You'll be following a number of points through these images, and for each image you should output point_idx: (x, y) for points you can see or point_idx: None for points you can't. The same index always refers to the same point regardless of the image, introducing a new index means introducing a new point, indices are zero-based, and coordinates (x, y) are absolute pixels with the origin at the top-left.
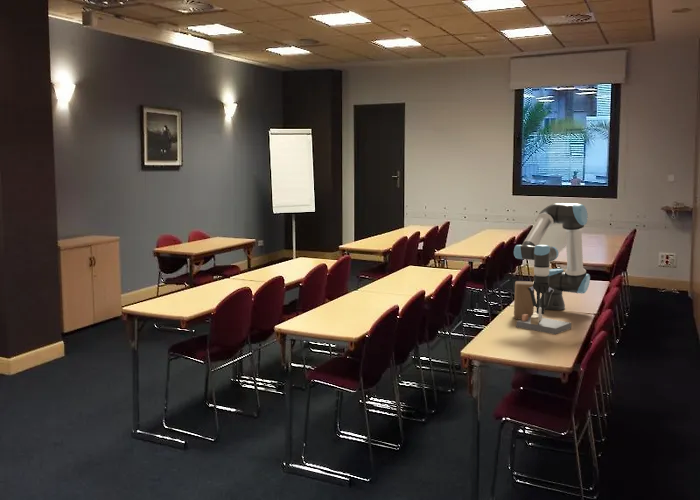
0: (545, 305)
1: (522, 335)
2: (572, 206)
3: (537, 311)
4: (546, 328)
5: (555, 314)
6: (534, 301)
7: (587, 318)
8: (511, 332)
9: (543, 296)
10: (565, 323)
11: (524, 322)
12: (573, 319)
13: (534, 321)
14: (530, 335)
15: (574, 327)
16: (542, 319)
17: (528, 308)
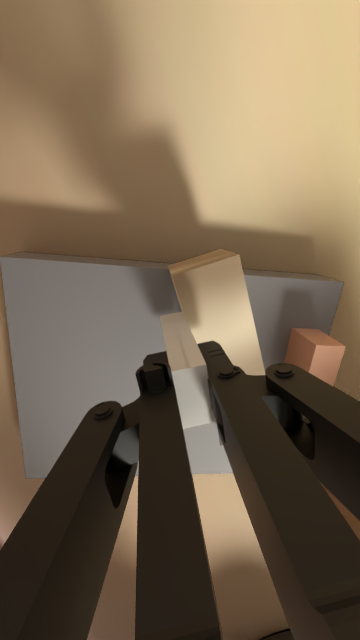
0: (111, 417)
1: (194, 25)
2: None
3: (213, 351)
4: (89, 261)
5: (232, 600)
6: (314, 409)
7: (92, 629)
8: (302, 75)
9: (151, 596)
10: (41, 442)
11: (282, 283)
12: (130, 586)
13: (196, 261)
14: (142, 77)
15: (39, 478)
16: (210, 438)
17: (348, 517)
